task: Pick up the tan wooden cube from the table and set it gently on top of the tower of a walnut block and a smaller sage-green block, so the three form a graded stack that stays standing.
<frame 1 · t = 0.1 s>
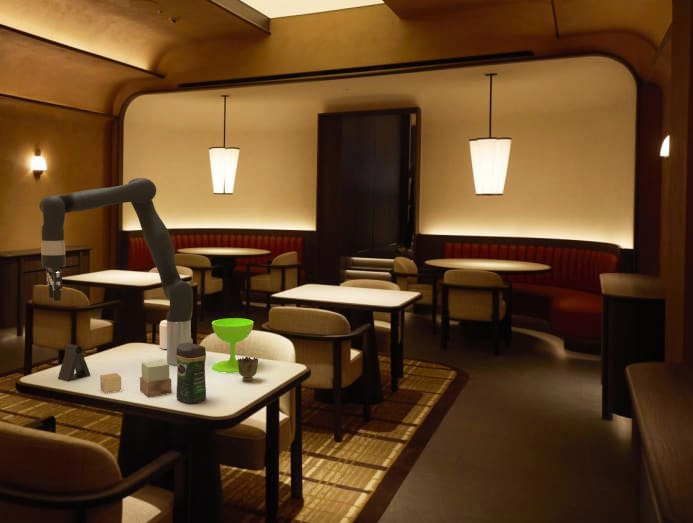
hand: (54, 299, 208), 29 cm above the table, tool pointing down, fingers open, 8 cm apart
cup: (247, 381, 215), on the table
wineglass: (232, 367, 232), on the table
beverage can: (169, 348, 261), on the table
walnut base block: (155, 392, 200), on the table, touching sage top block
coffee jar: (191, 400, 193), on the table
sage top block: (155, 378, 200), point 5 cm above the table, touching walnut base block
dark grey a-frame stand: (74, 378, 215), on the table
tan wooden cube: (110, 390, 201), on the table
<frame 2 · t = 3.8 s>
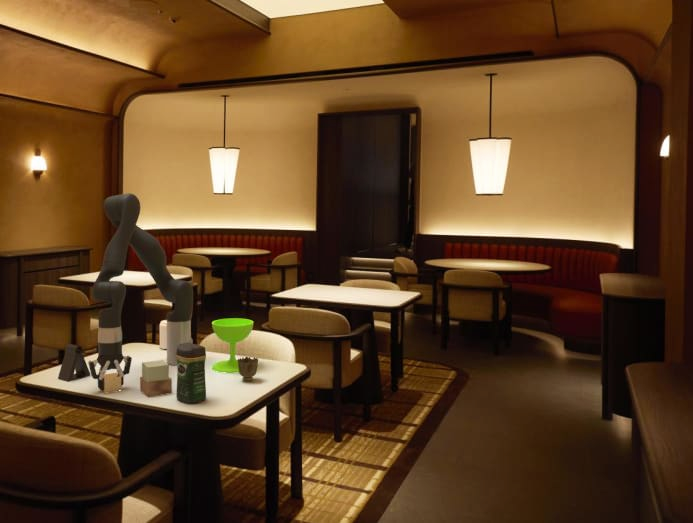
hand: (110, 388, 201), 1 cm above the table, tool pointing down, fingers closed on tan wooden cube, 5 cm apart
tan wooden cube: (110, 390, 201), on the table, touching gripper
everything else where it was.
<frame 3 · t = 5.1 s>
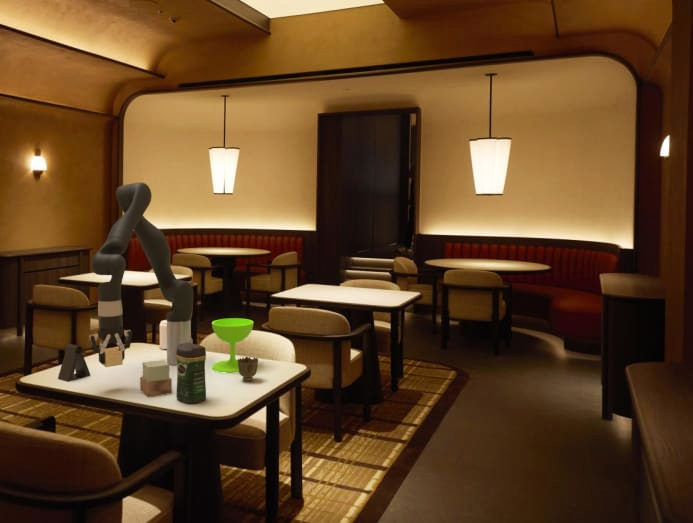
hand: (111, 362, 200), 10 cm above the table, tool pointing down, fingers closed on tan wooden cube, 5 cm apart
walnut base block: (156, 392, 200), on the table
sage top block: (155, 378, 200), point 5 cm above the table
tan wooden cube: (112, 364, 200), point 9 cm above the table, touching gripper
everything else where it was.
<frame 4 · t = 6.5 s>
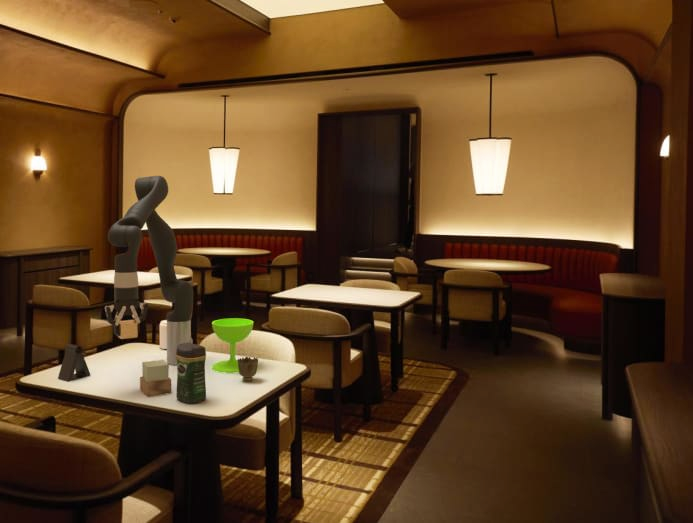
hand: (127, 334, 199), 19 cm above the table, tool pointing down, fingers closed on tan wooden cube, 5 cm apart
tan wooden cube: (127, 336, 199), point 19 cm above the table, touching gripper
everything else where it was.
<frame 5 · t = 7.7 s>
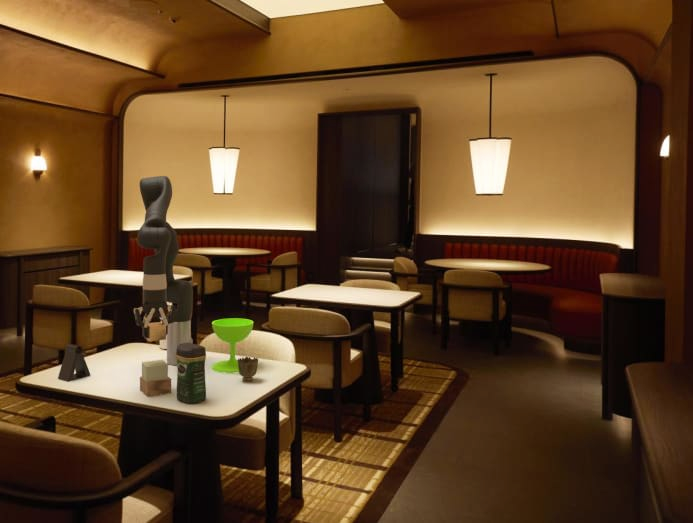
hand: (155, 337, 198), 19 cm above the table, tool pointing down, fingers closed on tan wooden cube, 5 cm apart
walnut base block: (155, 392, 200), on the table, touching sage top block
sage top block: (154, 377, 200), point 5 cm above the table, touching walnut base block
tan wooden cube: (155, 338, 198), point 18 cm above the table, touching gripper
everything else where it was.
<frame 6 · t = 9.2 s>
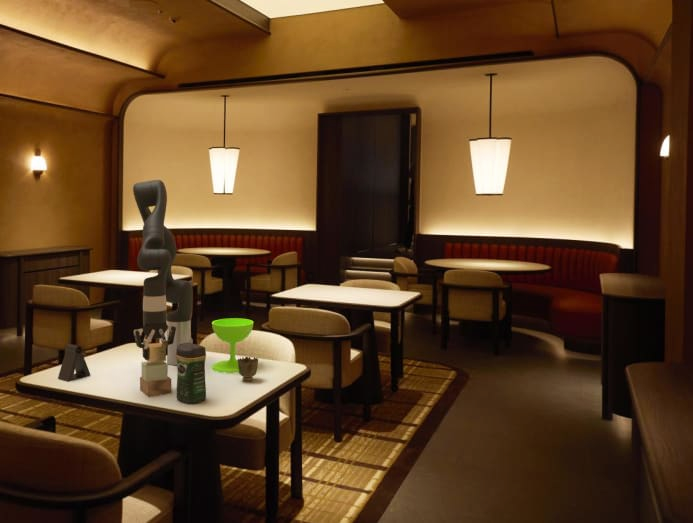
hand: (155, 358, 199), 12 cm above the table, tool pointing down, fingers closed on tan wooden cube, 5 cm apart
tan wooden cube: (155, 359, 199), point 11 cm above the table, touching gripper
everything else where it was.
when the fingers open (11 cm above the table, at t = 10.6 s): tan wooden cube stays where it is, resting on sage top block.
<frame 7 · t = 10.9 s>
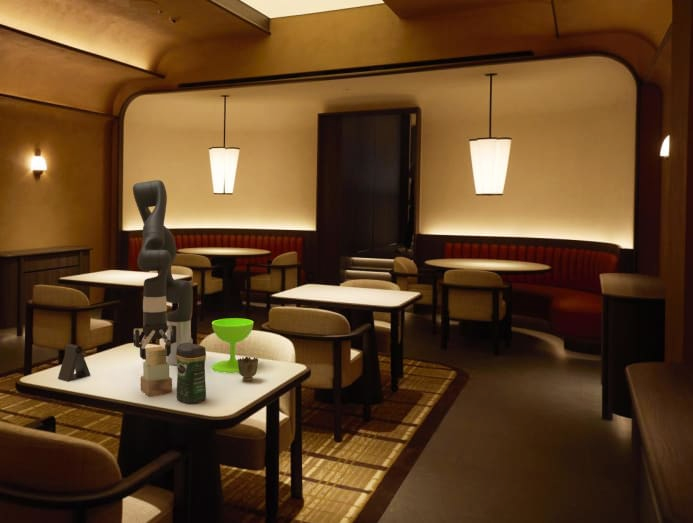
hand: (155, 357, 199), 12 cm above the table, tool pointing down, fingers open, 7 cm apart
sage top block: (156, 377, 200), point 5 cm above the table, touching tan wooden cube, walnut base block
tan wooden cube: (155, 363, 199), point 10 cm above the table, touching sage top block
everything else where it was.
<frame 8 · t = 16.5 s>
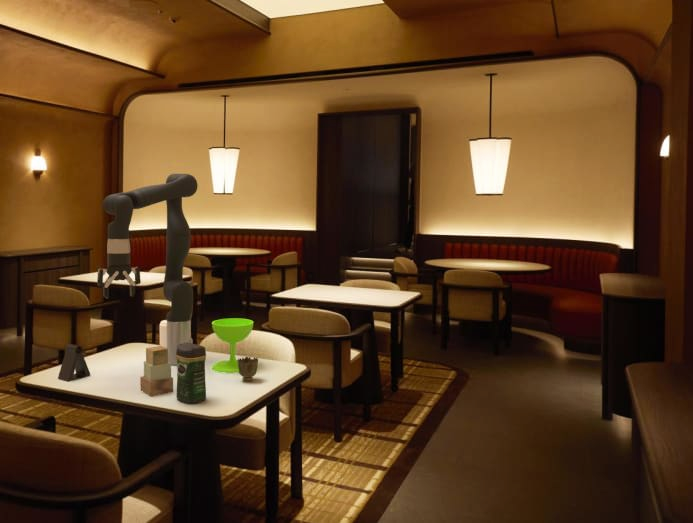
hand: (119, 297, 210), 30 cm above the table, tool pointing down, fingers open, 8 cm apart
at the end: tan wooden cube 0.6 cm off-centre on the sage top block, point 5.0 cm above the sage top block's base; tan wooden cube tilted 0°; sage top block moved 1.3 cm from its start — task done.
